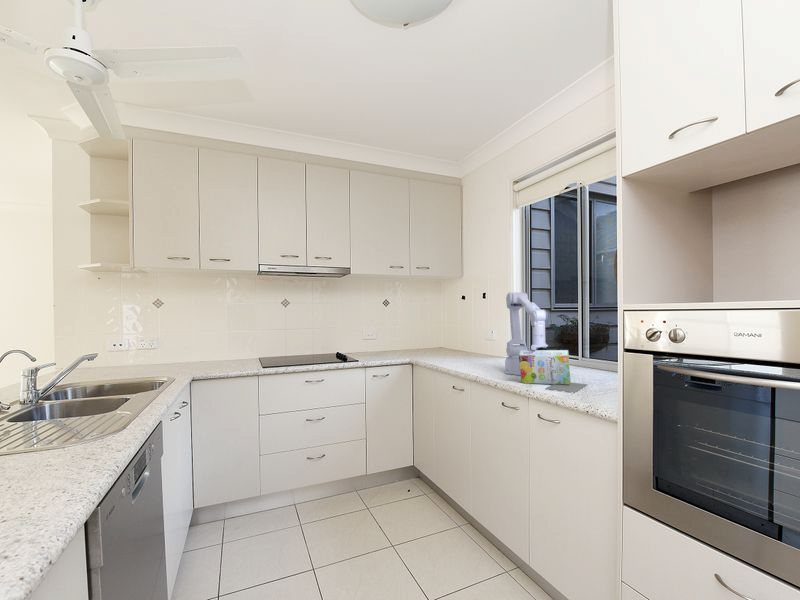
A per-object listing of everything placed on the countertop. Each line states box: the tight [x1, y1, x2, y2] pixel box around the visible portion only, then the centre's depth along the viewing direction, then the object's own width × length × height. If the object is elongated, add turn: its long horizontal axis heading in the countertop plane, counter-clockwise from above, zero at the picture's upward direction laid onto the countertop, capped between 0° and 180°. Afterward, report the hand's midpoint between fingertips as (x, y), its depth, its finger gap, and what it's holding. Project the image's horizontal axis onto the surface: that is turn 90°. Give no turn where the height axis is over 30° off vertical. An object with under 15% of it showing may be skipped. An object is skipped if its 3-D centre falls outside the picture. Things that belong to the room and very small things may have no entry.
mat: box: [545, 381, 588, 394], centre depth 164 cm, size 12×20×1 cm, turn 139°
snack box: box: [519, 349, 571, 385], centre depth 170 cm, size 21×6×15 cm, turn 65°
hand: (539, 364), depth 174 cm, fingers closed
